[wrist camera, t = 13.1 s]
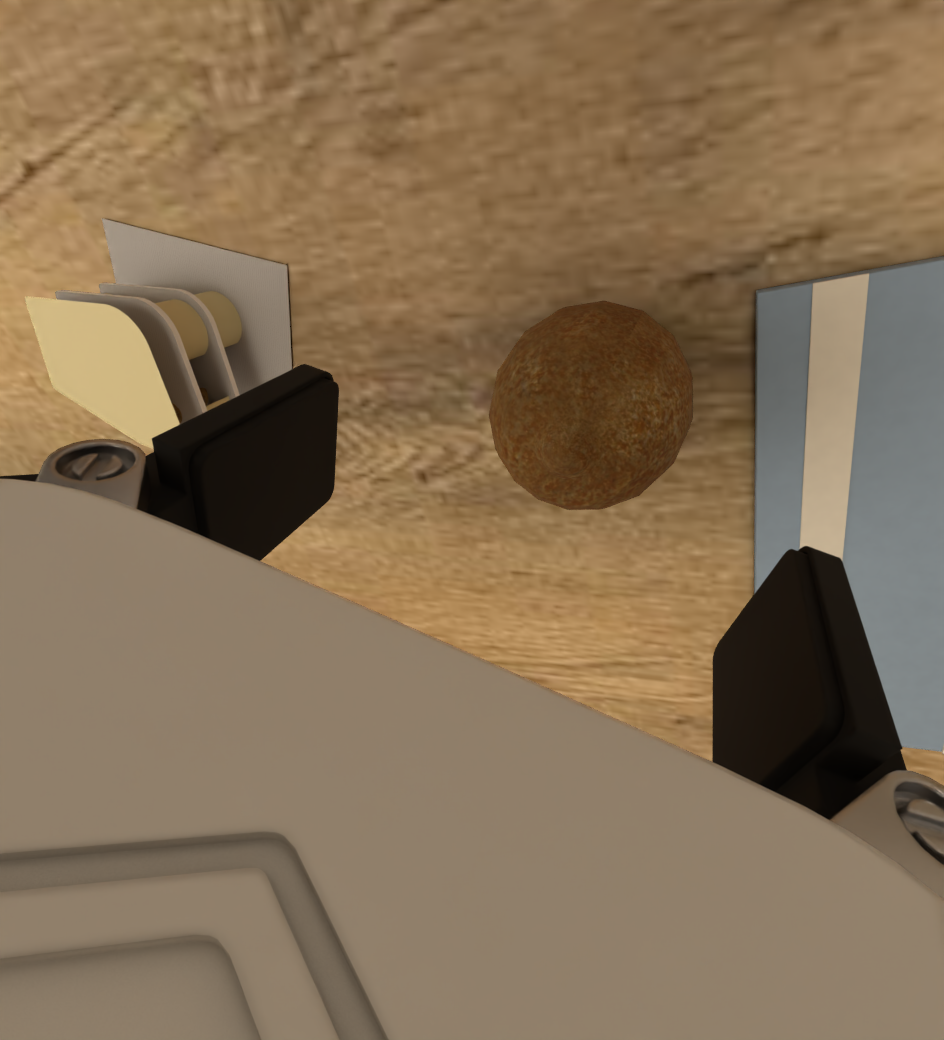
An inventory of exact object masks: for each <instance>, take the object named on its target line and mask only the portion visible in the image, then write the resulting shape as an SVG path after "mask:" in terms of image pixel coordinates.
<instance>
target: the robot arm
mask: <svg viewBox="0 0 944 1040" xmlns="http://www.w3.org/2000/svg"><path fill="white" fill-rule="evenodd" d="M338 397H339V387H338V384H337V383H336V382H333V377H332V375H331V374H330V373H328V372H326V371H323V370H320V369H317V368H315V367H312V366H309V365H306V364H303V365H300V366H298V367H296V368H294V369H292V370H290V371H288V372H286V373H284V374H282V375H280V376H278V377H276V378H273V379H271V380H269V381H267V382H265V383H263V384H261V385H259V386H257V387H255V388H253V389H251V390H249V391H247V392H245V393H243V394H241V395H239V396H237V397H235V398H233V399H231V400H229V401H227V402H225V403H223V404H221V405H219V406H217V407H214V408H212V409H210V410H208V411H206V412H204V413H202V414H200V415H198V416H196V417H194V418H192V419H190V420H188V421H186V422H184V423H182V424H180V425H178V426H176V427H174V428H172V429H170V430H168V431H166V432H164V433H162V434H160V435H157V436H155V437H153V438H152V443H153V448H154V452H153V453H151V454H149V455H147V456H145V453H144V452H143V451H142V450H141V449H140V448H139V447H137V446H135V445H133V444H131V443H128V442H124V441H120V440H111V439H95V440H86V441H81V442H76V443H72V444H69V445H67V446H64V447H62V448H59V449H58V450H56V451H55V452H53V453H52V454H50V455H49V456H48V458H47V459H46V460H45V461H44V463H43V465H42V468H41V470H40V472H39V474H32V475H15V476H0V1040H944V786H943V785H942V784H940V783H938V782H936V781H935V780H933V779H931V778H929V777H927V776H924V775H921V774H919V773H916V772H913V771H907V770H906V767H905V763H904V760H903V757H902V754H901V751H900V750H901V749H902V746H901V743H900V739H899V736H898V733H897V730H896V727H895V724H894V721H893V718H892V715H891V711H890V708H889V705H888V702H887V699H886V696H885V693H884V690H883V686H882V683H881V680H880V677H879V674H878V671H877V668H876V665H875V662H874V658H873V655H872V652H871V649H870V646H869V643H868V640H867V637H866V634H865V630H864V627H863V624H862V621H861V618H860V615H859V612H858V609H857V605H856V602H855V599H854V596H853V593H852V590H851V587H850V584H849V581H848V577H847V574H846V571H845V568H844V565H843V562H842V560H841V558H839V557H836V556H834V555H831V554H828V553H825V552H823V551H820V550H817V549H814V548H812V547H809V546H804V547H802V548H800V549H799V550H798V551H797V550H794V549H789V550H788V551H786V552H785V554H784V555H783V556H782V557H781V559H780V560H779V561H778V563H777V564H776V566H775V567H774V568H773V570H772V571H771V572H770V574H769V575H768V576H767V578H766V579H765V580H764V582H763V583H762V585H761V586H760V587H759V589H758V590H757V591H756V593H755V594H754V595H753V597H752V598H751V599H750V601H749V602H748V603H747V605H746V606H745V608H744V609H743V610H742V612H741V613H740V614H739V616H738V617H737V618H736V620H735V621H734V622H733V624H732V625H731V626H730V628H729V629H728V631H727V632H726V633H725V635H724V636H723V637H722V639H721V640H720V641H719V643H718V645H717V647H716V649H715V652H714V656H713V762H711V761H709V760H706V759H704V758H702V757H700V756H698V755H695V754H693V753H691V752H689V751H687V750H684V749H682V748H680V747H678V746H676V745H673V744H671V743H669V742H667V741H664V740H662V739H660V738H658V737H656V736H653V735H651V734H649V733H647V732H644V731H642V730H640V729H638V728H636V727H633V726H631V725H629V724H627V723H624V722H622V721H620V720H618V719H616V718H613V717H611V716H609V715H607V714H604V713H602V712H600V711H598V710H595V709H593V708H591V707H589V706H587V705H584V704H582V703H580V702H578V701H575V700H573V699H571V698H569V697H566V696H564V695H562V694H560V693H558V692H555V691H553V690H551V689H549V688H546V687H544V686H542V685H540V684H537V683H535V682H533V681H531V680H529V679H526V678H524V677H522V676H520V675H517V674H515V673H513V672H511V671H509V670H506V669H504V668H502V667H500V666H497V665H495V664H493V663H490V662H488V661H486V660H484V659H481V658H479V657H477V656H475V655H472V654H470V653H468V652H466V651H463V650H461V649H459V648H457V647H454V646H452V645H450V644H448V643H445V642H443V641H441V640H439V639H436V638H434V637H432V636H430V635H427V634H425V633H423V632H421V631H418V630H416V629H414V628H411V627H409V626H407V625H405V624H402V623H400V622H398V621H396V620H393V619H391V618H389V617H387V616H384V615H382V614H380V613H377V612H375V611H373V610H371V609H368V608H366V607H364V606H362V605H359V604H357V603H355V602H353V601H350V600H348V599H346V598H343V597H341V596H339V595H337V594H334V593H332V592H330V591H327V590H325V589H323V588H320V587H318V586H316V585H314V584H311V583H309V582H307V581H304V580H302V579H300V578H297V577H295V576H293V575H291V574H288V573H286V572H284V571H281V570H279V569H277V568H275V567H272V566H270V565H268V564H265V563H263V562H261V561H260V560H262V559H263V558H264V557H265V556H266V555H267V554H268V553H270V552H271V551H272V550H273V549H274V548H275V547H276V546H278V545H279V544H280V543H281V542H282V541H283V540H284V539H285V538H287V537H288V536H289V535H290V534H291V533H292V532H293V531H295V530H296V529H297V528H298V527H299V526H300V525H301V524H303V523H304V522H305V521H306V520H307V519H308V518H309V517H311V516H312V515H313V514H314V513H315V512H316V511H317V510H318V509H320V508H321V507H322V506H323V505H324V504H325V503H326V502H327V501H328V500H329V499H330V497H331V495H332V493H333V490H334V481H335V460H336V439H337V418H338Z"/></svg>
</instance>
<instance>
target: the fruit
mask: <svg viewBox="0 0 944 1040" xmlns="http://www.w3.org/2000/svg"><path fill="white" fill-rule="evenodd" d="M489 418H490V423H491V428H492V433H493V439H494V444H495V449H496V451H497V453H498V455H499V457H500V459H501V460H502V462H503V463H504V465H505V467H506V468H507V470H508V471H509V473H510V475H511V476H512V478H513V479H514V481H515V482H517V483H518V484H519V485H520V486H522V487H523V488H524V489H526V490H527V491H528V492H529V493H531V494H532V495H533V496H534V497H536V498H537V499H538V500H541V501H544V502H547V503H550V504H553V505H556V506H559V507H562V508H564V509H567V510H584V509H603V508H607V507H610V506H612V505H615V504H618V503H620V502H623V501H626V500H628V499H631V498H634V497H636V496H639V495H640V494H641V493H642V492H643V491H644V490H645V489H647V488H648V487H649V486H650V485H651V484H652V483H653V482H654V481H655V480H656V479H657V478H659V477H660V476H661V475H662V474H663V473H664V472H665V471H666V470H667V469H668V468H669V467H670V466H671V465H672V464H673V463H674V461H675V459H676V457H677V455H678V452H679V450H680V448H681V446H682V443H683V441H684V439H685V437H686V434H687V432H688V430H689V428H690V425H691V422H692V419H693V386H692V375H691V371H690V369H689V366H688V364H687V362H686V360H685V358H684V356H683V354H682V352H681V350H680V348H679V346H678V344H677V342H676V340H675V338H674V336H673V335H672V334H671V333H670V332H668V331H667V330H666V329H665V328H663V327H662V326H661V325H660V324H658V323H657V322H656V321H655V320H654V319H652V318H651V317H650V316H649V315H647V314H646V313H645V312H644V311H641V310H638V309H634V308H630V307H626V306H622V305H619V304H615V303H611V302H607V301H600V302H594V303H588V304H581V305H575V306H569V307H565V308H562V309H560V310H558V311H556V312H555V313H553V314H552V315H550V316H548V317H547V318H545V319H544V320H542V321H541V322H539V323H537V324H536V325H534V326H533V327H531V328H529V329H528V330H526V331H525V332H524V334H523V335H522V336H521V338H520V339H519V341H518V342H517V343H516V345H515V346H514V348H513V349H512V351H511V352H510V354H509V355H508V357H507V358H506V359H505V361H504V362H503V364H502V365H501V367H500V368H499V370H498V372H497V377H496V382H495V387H494V392H493V397H492V402H491V407H490V413H489Z"/></svg>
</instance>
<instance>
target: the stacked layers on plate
mask: <svg viewBox="0 0 944 1040" xmlns="http://www.w3.org/2000/svg"><path fill="white" fill-rule="evenodd" d="M102 221H103V226H104V230H105V235H106V239H107V244H108V248H109V253H110V257H111V262H112V266H113V271H114V275H115V280H116V283H101V284H99V288H100V292H101V294H100V293H89V292H79V291H68V290H60V291H56V292H55V294H56V298H57V299H48V298H38V297H28V296H26V297H25V302H26V305H27V308H28V311H29V314H30V317H31V321H32V324H33V327H34V330H35V333H36V336H37V339H38V342H39V346H40V349H41V352H42V355H43V358H44V361H45V364H46V367H47V371H48V374H49V377H50V380H51V383H52V386H53V388H54V389H55V390H57V391H58V392H60V393H61V394H63V395H64V396H66V397H68V398H69V399H71V400H72V401H74V402H75V403H77V404H79V405H80V406H82V407H83V408H85V409H86V410H88V411H89V412H91V413H93V414H94V415H96V416H97V417H99V418H100V419H102V420H104V421H105V422H107V423H108V424H110V425H111V426H113V427H114V428H116V429H118V430H119V431H121V432H122V433H124V434H125V435H127V436H129V437H130V438H132V439H133V440H135V441H136V442H138V443H139V444H142V445H145V446H147V447H150V448H153V443H152V438H153V437H155V436H157V435H160V434H162V433H164V432H166V431H168V430H170V429H172V428H174V427H176V426H178V425H180V424H182V423H184V422H186V421H188V420H190V419H192V418H194V417H196V416H198V415H200V414H202V413H204V412H206V411H208V410H210V409H212V408H214V407H217V406H219V405H221V404H223V403H225V402H227V401H229V400H231V399H233V398H235V397H237V396H239V395H241V394H243V393H245V392H247V391H249V390H251V389H253V388H255V387H257V386H259V385H261V384H263V383H265V382H267V381H269V380H271V379H273V378H276V377H278V376H280V375H282V374H284V373H286V372H288V371H290V370H292V358H291V337H290V316H289V295H288V275H287V265H284V264H280V263H276V262H272V261H268V260H264V259H260V258H256V257H252V256H248V255H244V254H240V253H236V252H232V251H228V250H225V249H221V248H217V247H213V246H209V245H205V244H201V243H197V242H193V241H189V240H185V239H181V238H177V237H173V236H169V235H165V234H162V233H158V232H154V231H150V230H146V229H142V228H138V227H134V226H130V225H126V224H122V223H118V222H114V221H110V220H106V219H102ZM153 449H154V448H153Z"/></svg>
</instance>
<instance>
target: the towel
mask: <svg viewBox="0 0 944 1040" xmlns="http://www.w3.org/2000/svg"><path fill="white" fill-rule="evenodd" d="M804 546H809V547H812V548H814V549H817V550H820V551H823V552H825V553H828V554H831V555H834V556H836V557H839V558H841V560H842V562H843V565H844V568H845V571H846V574H847V577H848V581H849V584H850V587H851V590H852V593H853V596H854V599H855V602H856V605H857V609H858V612H859V615H860V618H861V621H862V624H863V627H864V630H865V634H866V637H867V640H868V643H869V646H870V649H871V652H872V655H873V658H874V662H875V665H876V668H877V671H878V674H879V677H880V680H881V683H882V686H883V690H884V693H885V696H886V699H887V702H888V705H889V708H890V711H891V715H892V718H893V721H894V724H895V727H896V730H897V733H898V736H899V739H900V743H901V746H902V747H908V748H916V749H925V750H933V751H941V752H942V754H944V256H941V257H936V258H930V259H925V260H919V261H914V262H908V263H903V264H897V265H892V266H886V267H881V268H875V269H870V270H864V271H859V272H853V273H848V274H842V275H837V276H831V277H826V278H820V279H815V280H809V281H804V282H798V283H793V284H787V285H782V286H776V287H771V288H765V289H760V290H757V291H756V338H755V529H754V594H755V593H756V591H757V590H758V589H759V587H760V586H761V585H762V583H763V582H764V580H765V579H766V578H767V576H768V575H769V574H770V572H771V571H772V570H773V568H774V567H775V566H776V564H777V563H778V561H779V560H780V559H781V557H782V556H783V555H784V554H785V552H786V551H788V550H789V549H794V550H797V551H798V550H799V549H800V548H802V547H804Z"/></svg>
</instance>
